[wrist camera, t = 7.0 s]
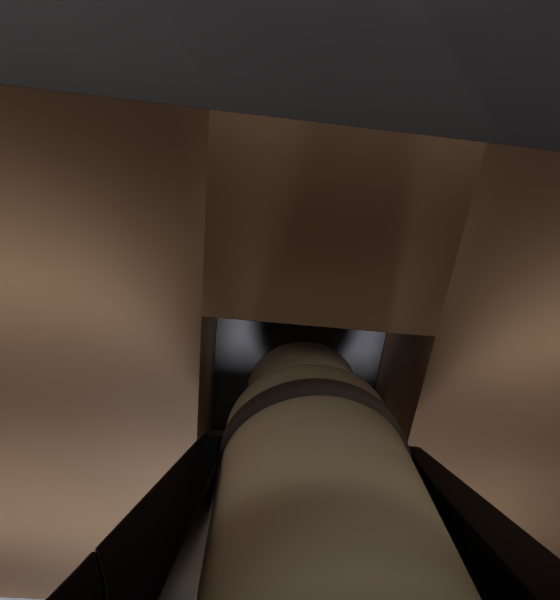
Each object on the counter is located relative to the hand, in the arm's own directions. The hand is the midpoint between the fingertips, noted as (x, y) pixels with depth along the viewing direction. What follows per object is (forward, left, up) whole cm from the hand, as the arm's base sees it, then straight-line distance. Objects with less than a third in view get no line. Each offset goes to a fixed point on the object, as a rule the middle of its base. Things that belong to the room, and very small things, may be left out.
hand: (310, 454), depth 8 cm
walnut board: (0, 0, -4) cm, 4 cm away
